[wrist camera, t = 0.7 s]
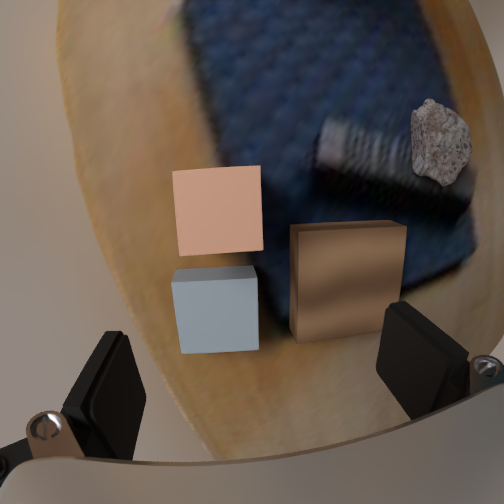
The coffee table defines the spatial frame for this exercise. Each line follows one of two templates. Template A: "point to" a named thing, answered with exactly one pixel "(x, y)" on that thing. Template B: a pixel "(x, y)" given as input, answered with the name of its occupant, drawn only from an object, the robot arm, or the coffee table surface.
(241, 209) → the terracotta block
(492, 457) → the robot arm
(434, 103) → the rock
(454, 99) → the coffee table surface
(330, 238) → the walnut block
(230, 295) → the slate block
